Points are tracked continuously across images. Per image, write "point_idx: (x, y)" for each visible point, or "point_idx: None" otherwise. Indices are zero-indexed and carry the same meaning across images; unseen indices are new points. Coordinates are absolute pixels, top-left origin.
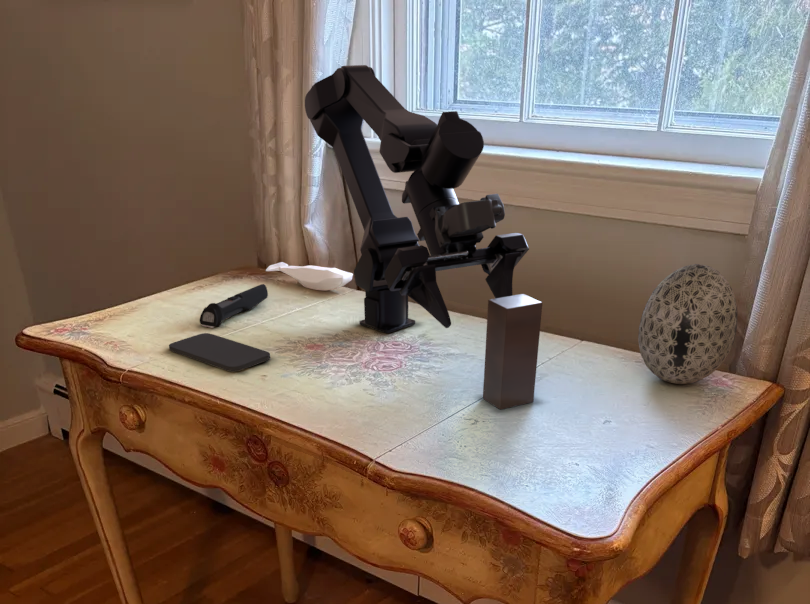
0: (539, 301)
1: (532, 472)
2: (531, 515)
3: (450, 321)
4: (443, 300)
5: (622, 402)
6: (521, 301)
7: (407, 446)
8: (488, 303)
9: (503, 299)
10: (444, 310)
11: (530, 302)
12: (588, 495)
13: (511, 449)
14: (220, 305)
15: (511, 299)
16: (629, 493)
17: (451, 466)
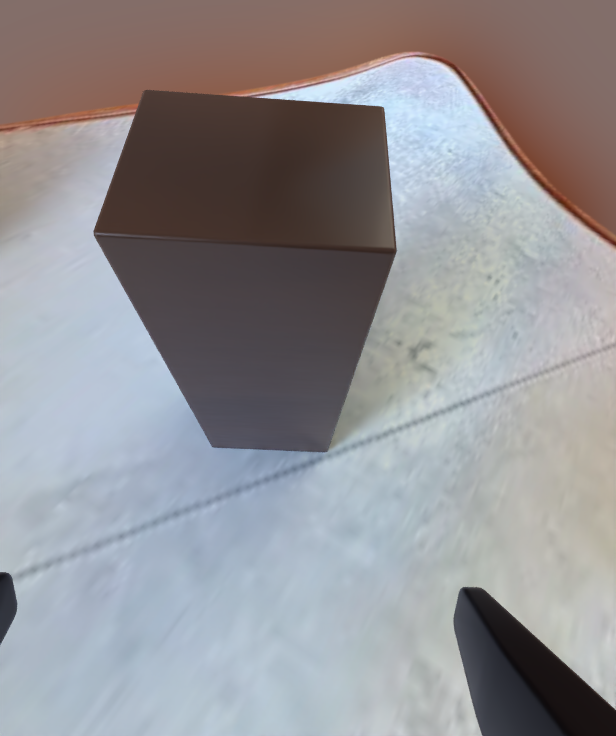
0: (142, 103)
1: (420, 169)
2: (481, 108)
3: (472, 592)
4: (575, 732)
5: (49, 266)
6: (230, 141)
7: (605, 330)
8: (390, 263)
9: (300, 210)
10: (536, 656)
11: (202, 110)
12: (382, 105)
13: (410, 231)
14: None
15: (258, 185)
16: (328, 87)
17: (542, 236)
